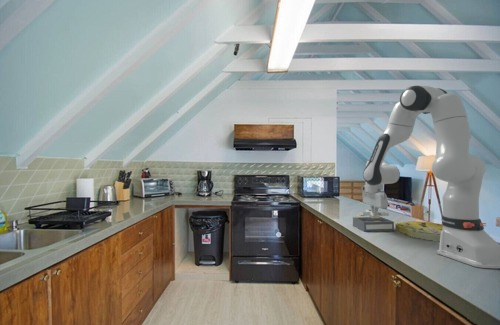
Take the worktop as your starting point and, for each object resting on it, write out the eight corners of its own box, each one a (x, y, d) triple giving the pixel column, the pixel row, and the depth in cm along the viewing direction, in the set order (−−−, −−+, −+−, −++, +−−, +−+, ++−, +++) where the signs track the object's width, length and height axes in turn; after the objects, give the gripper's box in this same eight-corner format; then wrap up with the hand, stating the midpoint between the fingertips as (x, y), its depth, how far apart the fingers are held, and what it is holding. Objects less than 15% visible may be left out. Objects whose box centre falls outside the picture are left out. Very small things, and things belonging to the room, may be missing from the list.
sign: (406, 233, 122) (390, 220, 151) (407, 240, 122) (391, 226, 151) (478, 237, 114) (447, 222, 143) (478, 244, 114) (447, 228, 143)
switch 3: (388, 215, 141) (388, 212, 141) (381, 215, 141) (381, 212, 141) (380, 214, 149) (380, 211, 149) (373, 214, 149) (373, 211, 149)
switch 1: (370, 215, 141) (370, 211, 141) (363, 215, 141) (362, 211, 141) (363, 215, 148) (363, 212, 149) (356, 216, 148) (356, 212, 149)
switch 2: (379, 218, 141) (379, 215, 141) (372, 218, 141) (372, 215, 141) (372, 212, 149) (372, 209, 149) (365, 212, 149) (365, 209, 149)
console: (394, 231, 138) (394, 221, 138) (364, 231, 137) (364, 222, 137) (380, 225, 152) (379, 216, 152) (352, 225, 152) (352, 216, 152)
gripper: (391, 190, 132) (391, 217, 132) (370, 186, 152) (371, 210, 152) (378, 190, 132) (379, 218, 132) (360, 187, 152) (360, 210, 152)
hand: (374, 214), depth 142 cm, fingers closed
